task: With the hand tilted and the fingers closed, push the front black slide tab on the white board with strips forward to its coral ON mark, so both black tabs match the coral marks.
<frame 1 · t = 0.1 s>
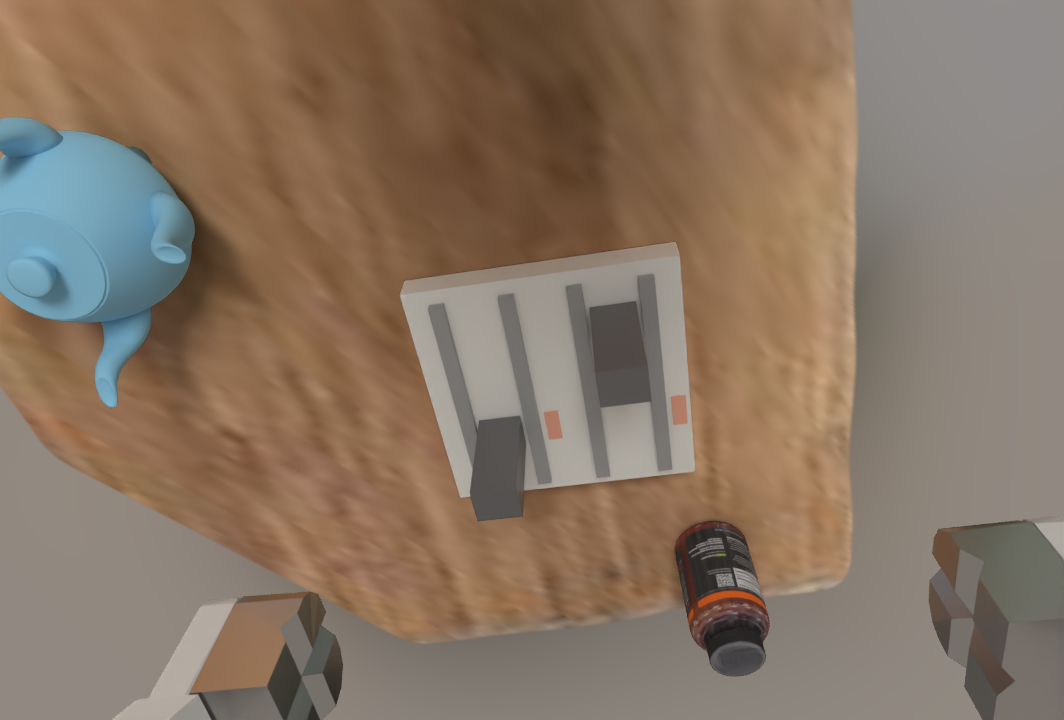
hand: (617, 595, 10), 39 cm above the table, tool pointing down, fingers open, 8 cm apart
white board with strips: (557, 373, 55), on the table
teapot: (115, 205, 49), on the table
switch tab 1: (618, 351, 47), point 6 cm above the table, slide at 0.0 cm
switch tab 2: (499, 466, 53), point 6 cm above the table, slide at 8.0 cm
supplement bottle: (709, 541, 65), on the table
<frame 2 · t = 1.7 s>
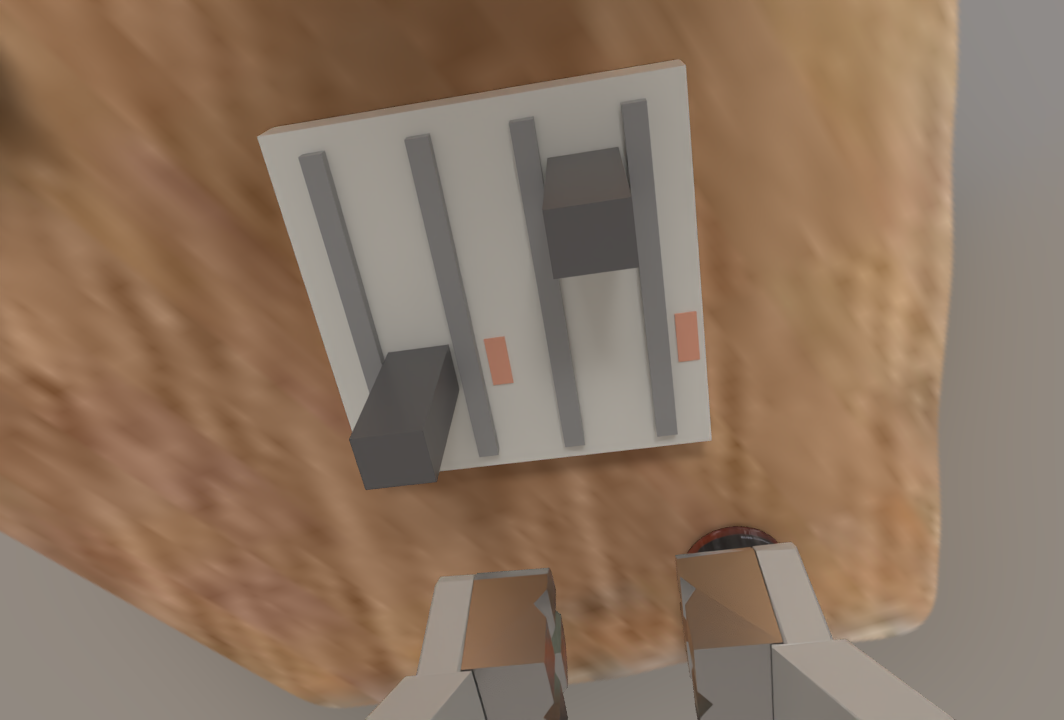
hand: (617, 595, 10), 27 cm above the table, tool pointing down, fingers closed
white board with strips: (507, 285, 37), on the table
switch tab 1: (588, 207, 30), point 6 cm above the table, slide at 0.0 cm
switch tab 2: (410, 411, 34), point 6 cm above the table, slide at 8.0 cm
supplement bottle: (732, 558, 45), on the table
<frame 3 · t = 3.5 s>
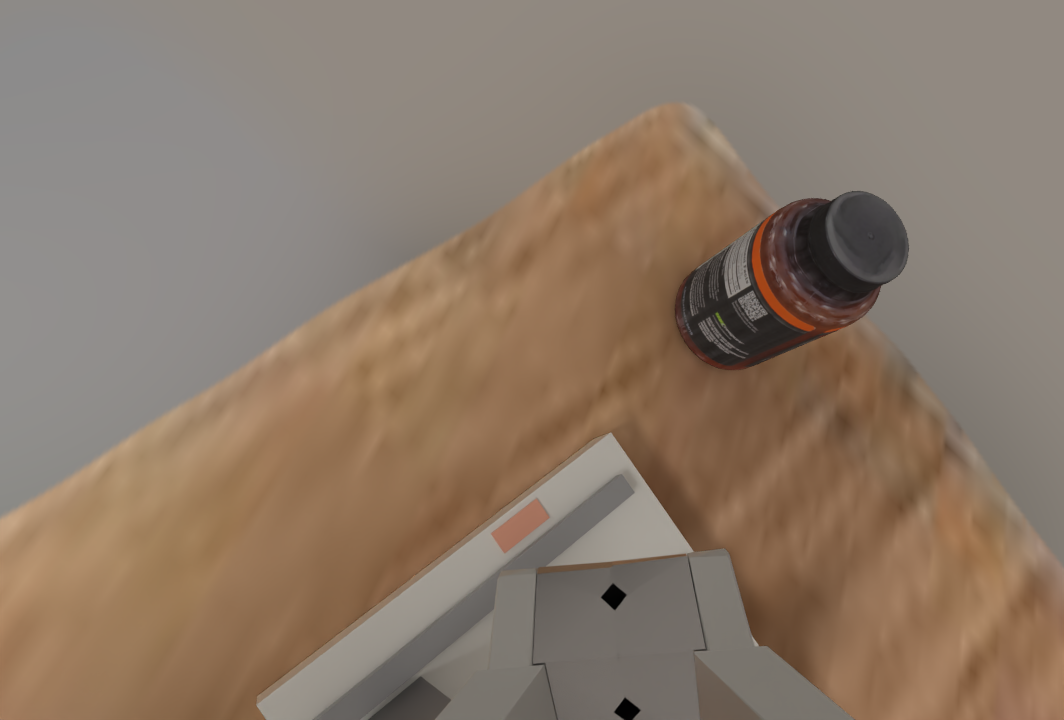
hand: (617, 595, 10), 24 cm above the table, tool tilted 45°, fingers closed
supplement bottle: (717, 319, 41), on the table
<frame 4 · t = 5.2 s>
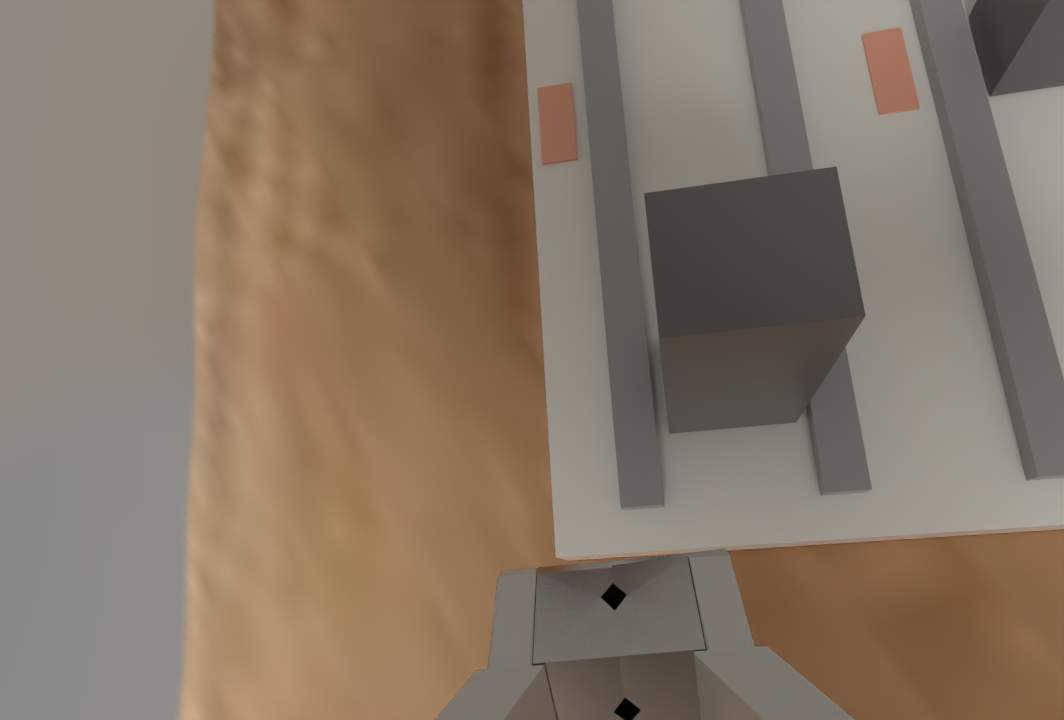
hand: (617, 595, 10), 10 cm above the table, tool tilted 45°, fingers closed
white board with strips: (862, 211, 22), on the table
switch tab 1: (734, 329, 15), point 6 cm above the table, slide at 0.0 cm
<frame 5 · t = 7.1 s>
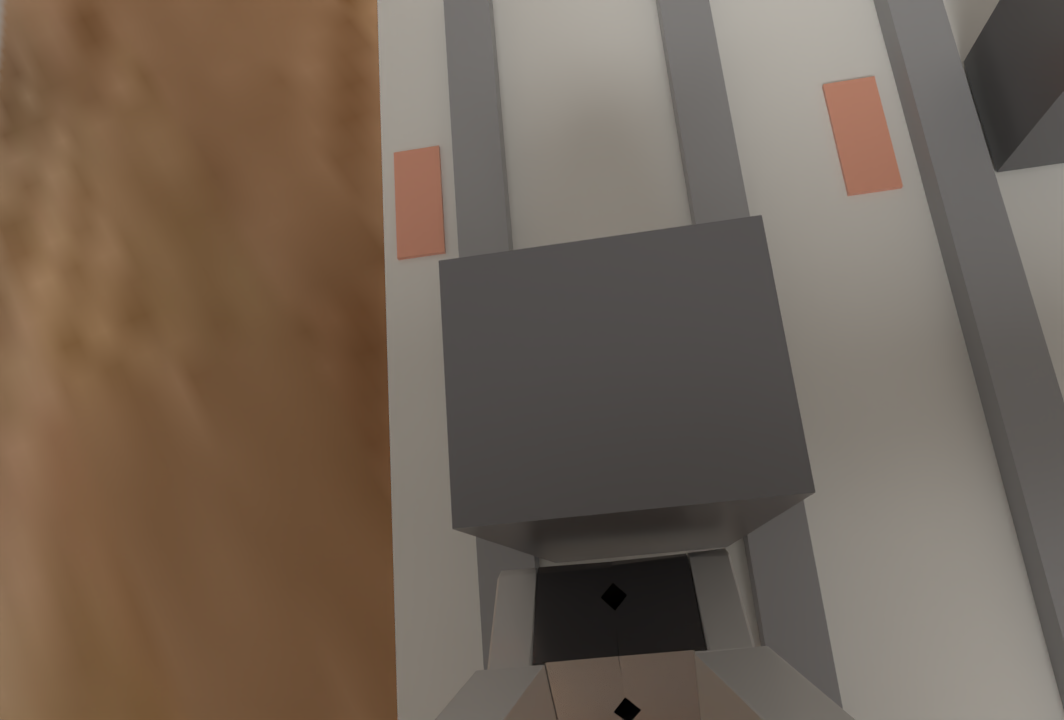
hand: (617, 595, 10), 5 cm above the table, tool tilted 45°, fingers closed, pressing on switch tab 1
white board with strips: (827, 317, 16), on the table
switch tab 1: (625, 445, 10), point 6 cm above the table, slide at 1.7 cm, touching gripper
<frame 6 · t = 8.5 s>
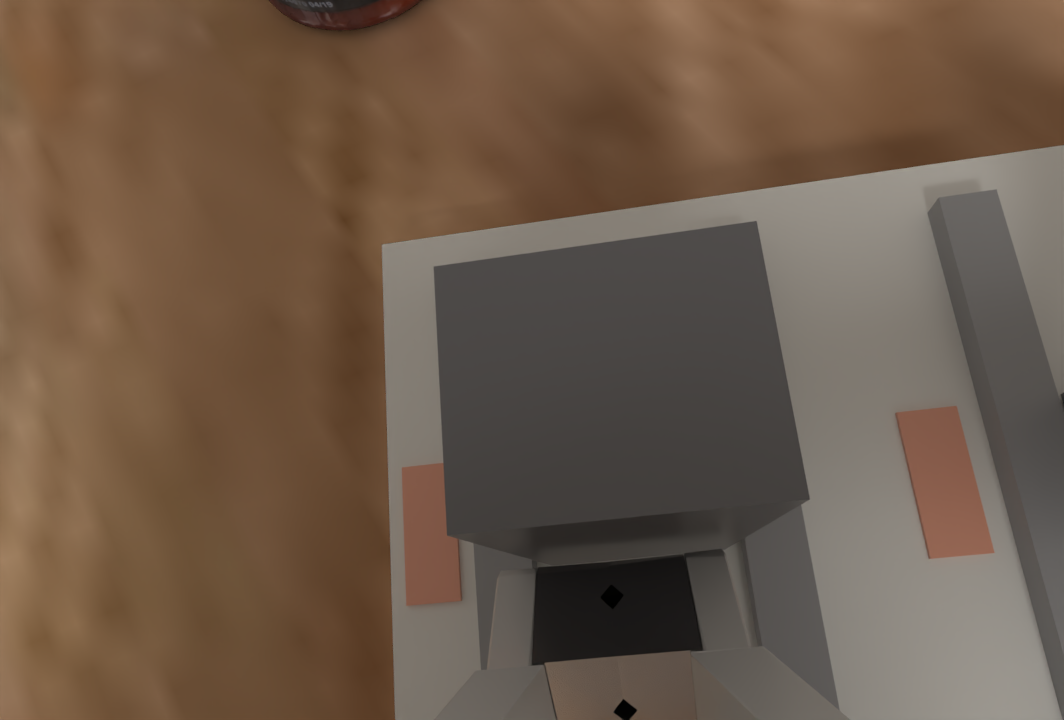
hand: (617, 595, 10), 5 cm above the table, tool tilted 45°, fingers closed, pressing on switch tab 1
white board with strips: (897, 662, 14), on the table
switch tab 1: (621, 449, 10), point 6 cm above the table, slide at 8.5 cm, touching gripper
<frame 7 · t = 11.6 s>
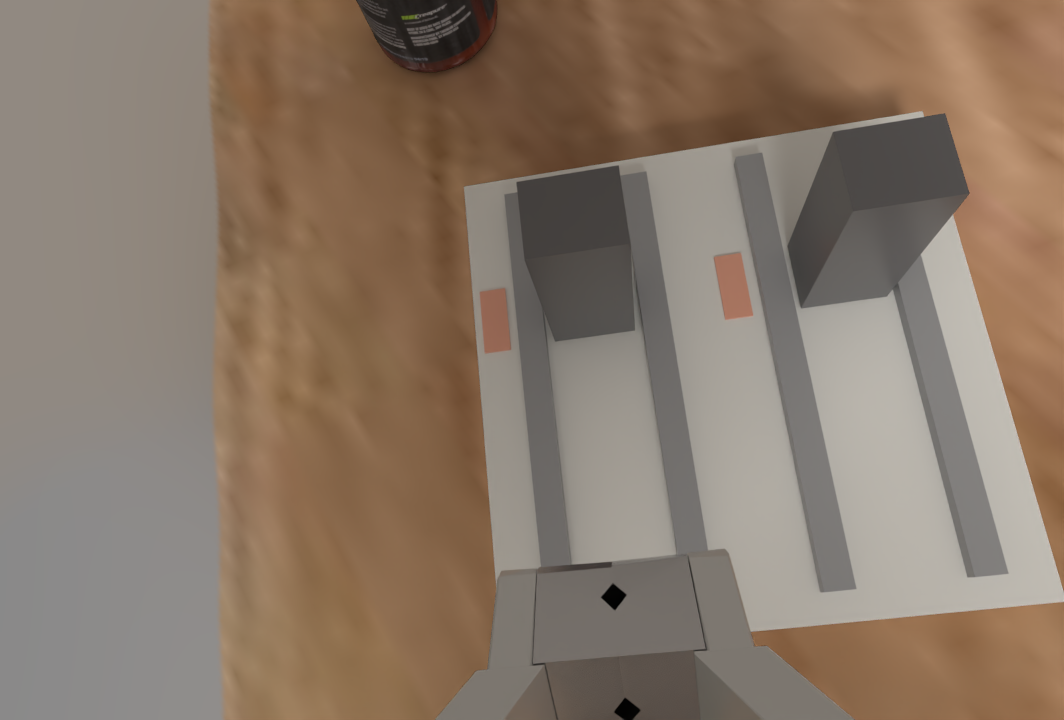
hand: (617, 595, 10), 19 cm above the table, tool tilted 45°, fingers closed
white board with strips: (720, 380, 30), on the table
switch tab 1: (582, 264, 26), point 6 cm above the table, slide at 8.1 cm
switch tab 2: (863, 224, 25), point 6 cm above the table, slide at 8.0 cm
supplement bottle: (439, 28, 37), on the table
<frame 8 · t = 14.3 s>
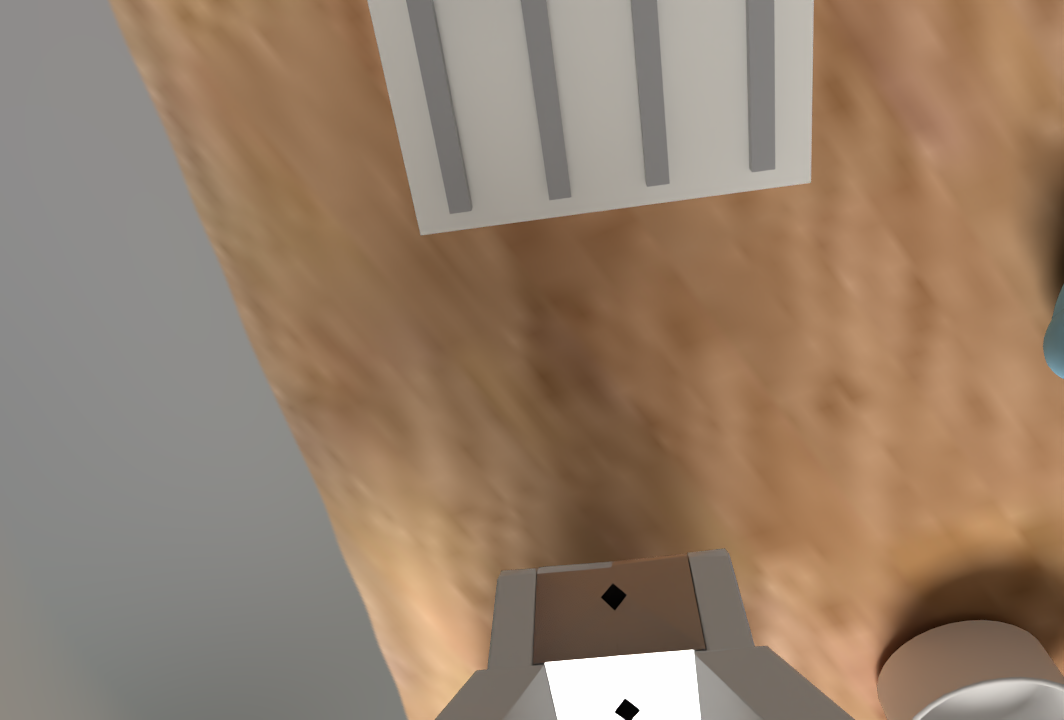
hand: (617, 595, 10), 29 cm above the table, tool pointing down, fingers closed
saucepan: (938, 708, 53), on the table
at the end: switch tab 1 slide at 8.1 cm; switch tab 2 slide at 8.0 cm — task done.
